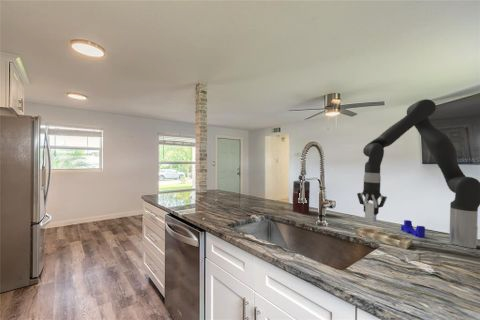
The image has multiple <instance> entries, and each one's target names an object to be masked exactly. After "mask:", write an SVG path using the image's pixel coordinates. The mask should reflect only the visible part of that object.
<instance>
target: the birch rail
mask: <svg viewBox="0 0 480 320" xmlns="http://www.w3.org/2000/svg"><path fill="white" fill-rule="evenodd" d="M354 232H355V233H354V234H355V235H356V236H357V237H361V236H362V238H364V239H369V240H372V241H376V242H379V243H383V244H387V245H390V246H393V247H398V248H400V249H404V250H407V249H408V248H410V247H411V246H412V245H413V238H410V237H406V236H403V235H397V234H394V233H391V232H386V231H381V230H378V229H373V228H369V227H365V226H362V227H359V228H357V229H355V231H354Z"/></svg>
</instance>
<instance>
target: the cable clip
mask: <svg viewBox="0 0 480 320" xmlns="http://www.w3.org/2000/svg"><path fill="white" fill-rule="evenodd" d="M400 225H401V226H400V231H403V232H404V233H406V234H411V235H413V236H415V237H416V238H419V239H425V238H426V237H425V235H426V233H425V232H426V227H425V226H424V225H416V228H415V229H414V227H413V224H412V220H410V219H409V220H407V219H405V220H404V221H403V224H400Z"/></svg>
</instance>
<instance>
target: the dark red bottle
mask: <svg viewBox="0 0 480 320" xmlns="http://www.w3.org/2000/svg"><path fill="white" fill-rule="evenodd" d="M301 175H302V174H299V176H298V180H294V181H292V182H293V188H292V213H297V214H301V215H302V214H308V213H310V186H311V182H310V181H309V180H304V181H305V198H306V200H307V203H304V204H303V203H298V198H299V193H300V183H301V180H302V176H301ZM304 178H305V179H306V176H305V175H304Z"/></svg>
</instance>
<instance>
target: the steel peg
mask: <svg viewBox="0 0 480 320" xmlns="http://www.w3.org/2000/svg"><path fill="white" fill-rule="evenodd" d="M374 209H375V205H374V203H373V202H372V203H371V202H368V203H366V204H365V212H364V221H366V222H370V223H374V222H377V215H374Z"/></svg>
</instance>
